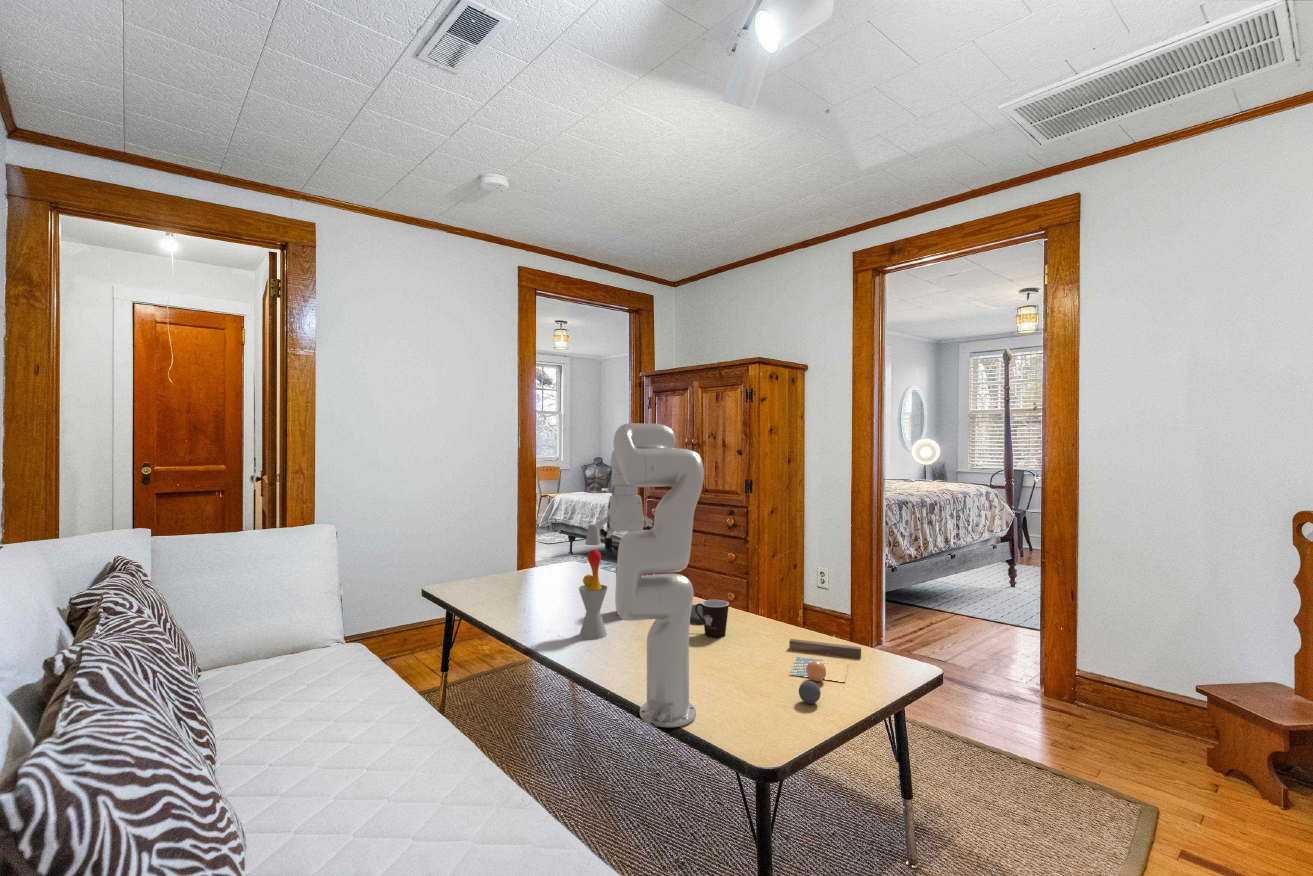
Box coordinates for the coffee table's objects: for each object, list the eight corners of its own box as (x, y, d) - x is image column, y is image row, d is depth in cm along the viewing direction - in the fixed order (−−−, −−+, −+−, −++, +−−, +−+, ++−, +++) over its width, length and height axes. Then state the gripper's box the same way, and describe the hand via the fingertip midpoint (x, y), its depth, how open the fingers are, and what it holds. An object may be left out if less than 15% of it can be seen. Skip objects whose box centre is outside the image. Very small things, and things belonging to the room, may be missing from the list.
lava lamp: (609, 630, 197) (609, 522, 197) (604, 640, 188) (604, 526, 188) (582, 630, 198) (582, 522, 198) (575, 639, 189) (575, 526, 189)
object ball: (825, 685, 154) (825, 666, 154) (805, 683, 155) (805, 663, 155) (827, 678, 158) (827, 659, 158) (807, 675, 160) (807, 656, 160)
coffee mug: (733, 637, 191) (733, 605, 191) (709, 640, 188) (709, 608, 188) (716, 626, 202) (716, 596, 201) (692, 629, 198) (692, 598, 198)
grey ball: (819, 709, 140) (819, 687, 140) (797, 705, 142) (797, 684, 142) (821, 700, 145) (821, 679, 145) (800, 697, 147) (800, 676, 147)
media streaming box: (670, 617, 214) (670, 608, 214) (700, 609, 223) (700, 601, 223) (699, 627, 202) (699, 618, 202) (730, 618, 212) (730, 610, 212)
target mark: (844, 683, 155) (844, 682, 155) (789, 675, 160) (789, 674, 160) (848, 664, 168) (848, 663, 168) (796, 657, 173) (796, 656, 173)
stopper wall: (860, 658, 173) (860, 649, 173) (789, 649, 180) (789, 640, 180) (861, 655, 175) (861, 647, 175) (790, 647, 182) (790, 638, 182)
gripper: (600, 493, 170) (600, 554, 170) (657, 491, 177) (657, 550, 177) (592, 491, 177) (592, 550, 177) (647, 489, 184) (647, 546, 183)
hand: (624, 550), depth 177 cm, fingers open, 9 cm apart
